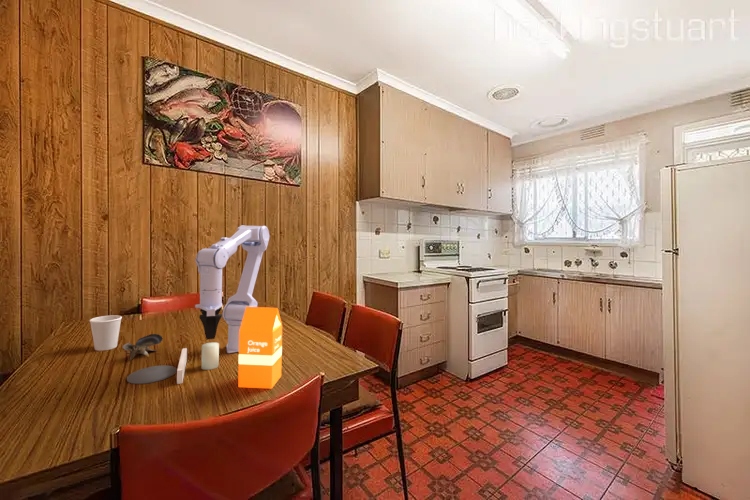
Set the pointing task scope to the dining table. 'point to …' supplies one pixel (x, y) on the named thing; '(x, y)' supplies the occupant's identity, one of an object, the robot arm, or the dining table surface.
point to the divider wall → (181, 366)
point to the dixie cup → (105, 331)
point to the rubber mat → (151, 374)
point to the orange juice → (260, 348)
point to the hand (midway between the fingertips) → (210, 335)
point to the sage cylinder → (210, 356)
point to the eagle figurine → (143, 345)
